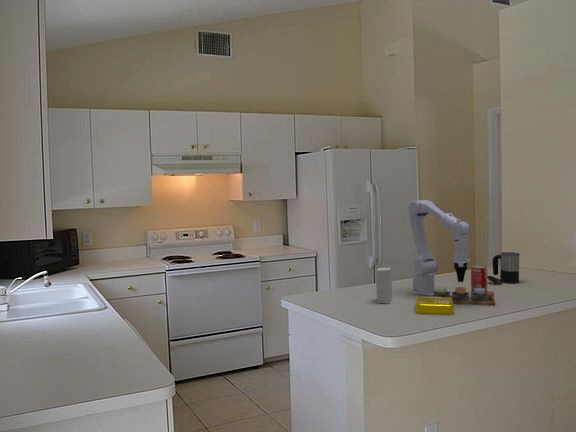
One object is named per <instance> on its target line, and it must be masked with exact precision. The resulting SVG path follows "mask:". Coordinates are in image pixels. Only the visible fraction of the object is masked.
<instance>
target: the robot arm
mask: <svg viewBox="0 0 576 432" xmlns="http://www.w3.org/2000/svg"><path fill="white" fill-rule="evenodd" d="M407 209H408V213H409V222H410V226H411V227H410V228H411V231H412V235H413V236H412V237H413V239H414V245H415V249H416V252H417V253H416V254H417V257H415V259H414V270H415V273H416V274H414V276H413V279H412V295H420V296H421V295H422V296H428V295H433V294H434V291H435V275H436V273H437V272H438V270H439V264H438V262H437V261H436V259H435V256H434V255H432V253H430V247H429V244H428V241H427V236H426V233H425V232H426V231H425V227H424V224H423V220H424V219H425V218H426V217H427V216H428V215H429V214H430V215H432V216H434V217H435V218H437V219H438V220H440V223H441V224H442V225H443V226H444V227H446V228H447V229H449V230H450V231H451V234H452V239H453V260H452V261H453V262H454V263H453V264H454V265H453V268H454V270H455V272H456V278H457V282H458V283H464V281H465V276H466V275H465V274H466V271H467V270H468V266H467V265H468V263H470V262H471V259H468V252H469V251H468V249H469V248H468V245H469V244H468V241H469V239H468V235H469V234H470V233H471V225H470V224H469V223H468V222H467V221H462V220H461V219H459V218H457V217H456V216H454V214H453V213H451V212H450V213H448V212H447V213H445V212H444V211H443V210H442V209H440V208H439V207H438V206H436V205H435V204H434V202H433V201H431V200H429V199H420V200H419V199H418V200H411V201H410V202H409V205H408V206H407Z"/></svg>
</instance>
